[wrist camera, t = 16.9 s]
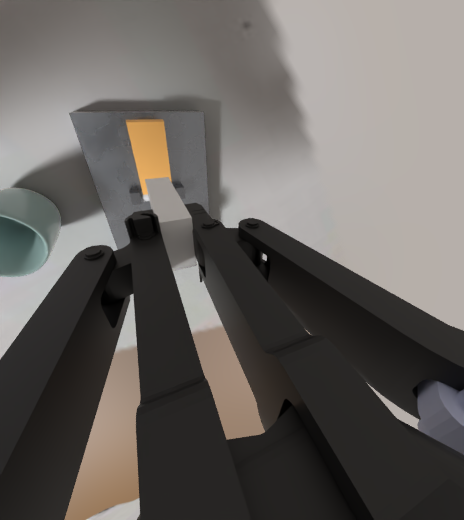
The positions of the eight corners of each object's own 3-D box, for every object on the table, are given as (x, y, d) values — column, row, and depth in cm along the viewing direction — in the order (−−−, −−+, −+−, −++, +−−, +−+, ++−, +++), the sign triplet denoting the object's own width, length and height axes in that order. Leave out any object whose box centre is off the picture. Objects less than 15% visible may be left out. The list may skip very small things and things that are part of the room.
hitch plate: (125, 260, 39) (125, 277, 36) (73, 111, 26) (65, 114, 22) (206, 244, 44) (214, 258, 40) (197, 110, 30) (207, 112, 27)
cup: (76, 201, 31) (61, 234, 24) (53, 243, 33) (34, 286, 26) (2, 167, 26) (-45, 195, 19) (-19, 218, 28) (-69, 262, 21)
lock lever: (142, 198, 31) (143, 203, 31) (123, 119, 24) (124, 122, 24) (173, 194, 33) (175, 199, 32) (163, 118, 26) (166, 121, 25)
